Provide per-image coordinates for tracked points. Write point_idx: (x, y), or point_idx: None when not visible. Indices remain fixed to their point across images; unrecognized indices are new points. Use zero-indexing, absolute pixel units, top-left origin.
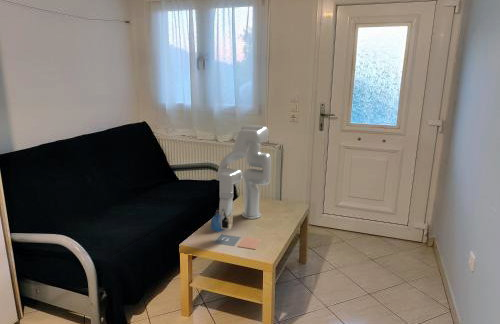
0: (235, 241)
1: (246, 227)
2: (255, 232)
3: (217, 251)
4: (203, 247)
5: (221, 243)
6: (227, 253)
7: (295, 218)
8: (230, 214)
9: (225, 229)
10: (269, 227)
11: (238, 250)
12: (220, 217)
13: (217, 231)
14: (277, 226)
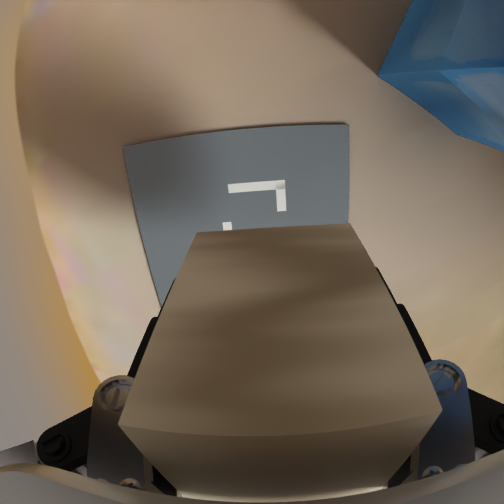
0: None
1: (500, 274)
2: (432, 348)
3: (48, 249)
4: (34, 122)
5: (151, 220)
6: (71, 312)
7: None
8: (374, 488)
9: (455, 131)
10: (484, 369)
11: None
12: None
13: (383, 68)
14: (488, 385)
